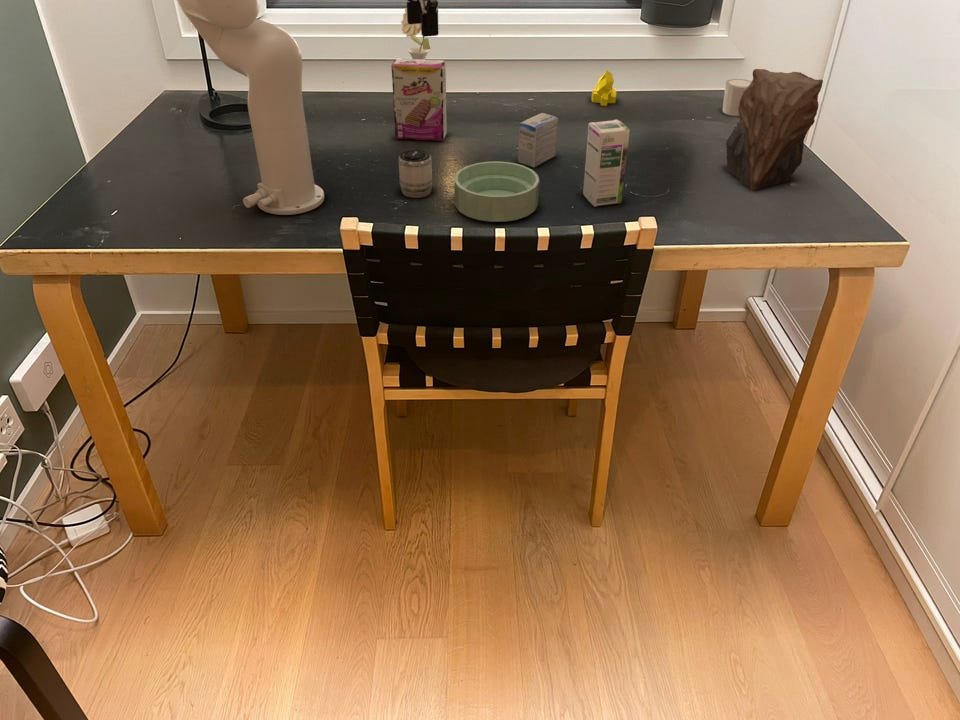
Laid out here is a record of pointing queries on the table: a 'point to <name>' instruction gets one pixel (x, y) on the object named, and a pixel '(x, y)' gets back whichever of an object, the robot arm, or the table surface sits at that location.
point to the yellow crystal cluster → (604, 90)
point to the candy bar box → (419, 99)
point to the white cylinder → (734, 95)
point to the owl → (772, 127)
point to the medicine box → (537, 139)
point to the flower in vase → (415, 39)
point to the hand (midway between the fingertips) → (422, 29)
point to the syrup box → (605, 162)
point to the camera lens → (415, 173)
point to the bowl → (496, 191)
